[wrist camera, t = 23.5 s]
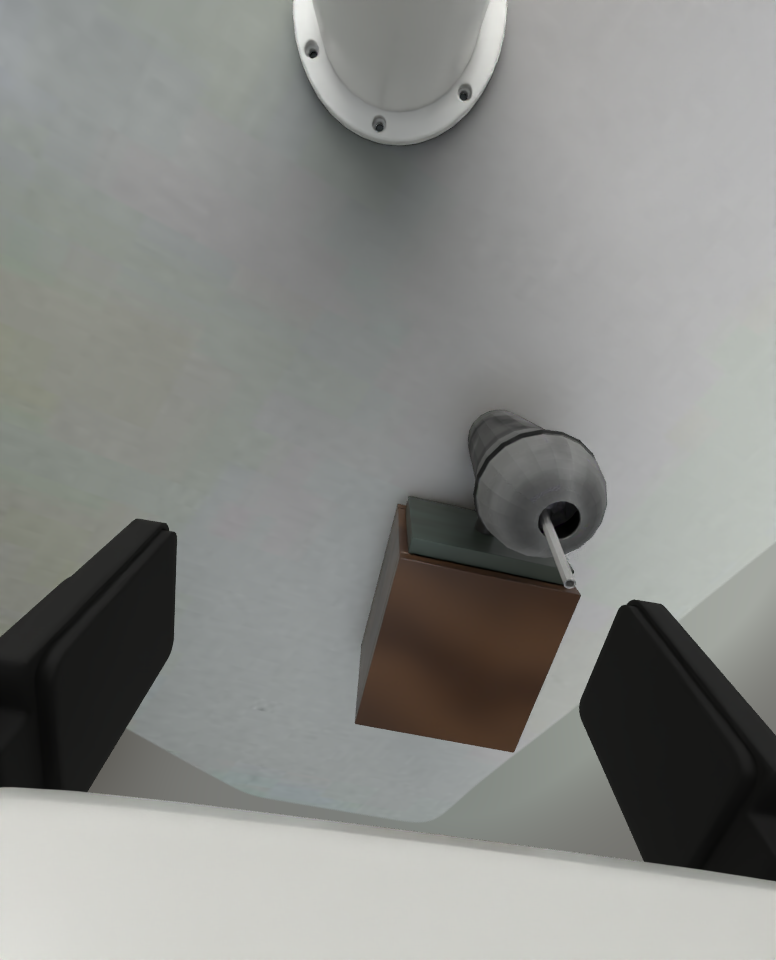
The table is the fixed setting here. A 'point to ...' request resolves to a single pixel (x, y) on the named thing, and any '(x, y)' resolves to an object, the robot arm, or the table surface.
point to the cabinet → (456, 648)
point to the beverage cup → (535, 487)
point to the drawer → (468, 542)
